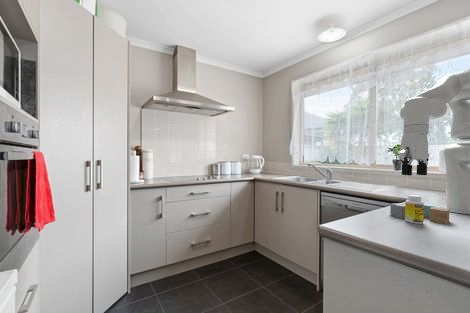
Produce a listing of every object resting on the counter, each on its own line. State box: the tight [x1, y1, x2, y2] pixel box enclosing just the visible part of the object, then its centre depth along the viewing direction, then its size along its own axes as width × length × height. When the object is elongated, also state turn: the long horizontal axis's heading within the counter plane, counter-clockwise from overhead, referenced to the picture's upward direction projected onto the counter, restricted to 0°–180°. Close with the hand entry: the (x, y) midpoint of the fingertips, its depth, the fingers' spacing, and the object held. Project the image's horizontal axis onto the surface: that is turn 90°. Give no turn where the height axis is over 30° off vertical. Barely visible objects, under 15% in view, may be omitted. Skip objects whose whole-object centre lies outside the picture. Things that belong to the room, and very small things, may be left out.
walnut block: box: [429, 206, 450, 225], centre depth 86 cm, size 5×5×5 cm
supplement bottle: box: [404, 194, 425, 225], centre depth 84 cm, size 6×6×10 cm
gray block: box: [389, 202, 405, 219], centre depth 92 cm, size 5×5×5 cm
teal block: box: [424, 202, 437, 219], centre depth 93 cm, size 5×5×5 cm
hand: (414, 175), depth 84 cm, fingers open, 9 cm apart
